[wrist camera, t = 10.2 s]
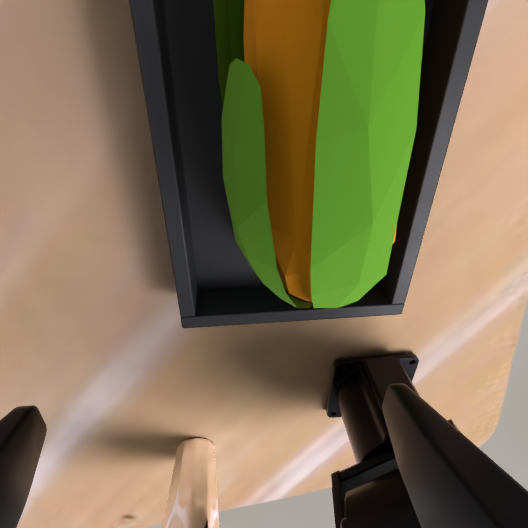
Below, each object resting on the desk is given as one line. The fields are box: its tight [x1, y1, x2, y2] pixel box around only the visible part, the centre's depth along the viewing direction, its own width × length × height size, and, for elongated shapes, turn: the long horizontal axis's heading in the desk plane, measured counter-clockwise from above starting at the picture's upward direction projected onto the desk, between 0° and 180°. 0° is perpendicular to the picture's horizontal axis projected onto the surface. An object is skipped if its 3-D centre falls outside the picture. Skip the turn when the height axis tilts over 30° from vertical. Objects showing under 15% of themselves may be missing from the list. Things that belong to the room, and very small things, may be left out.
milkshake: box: [162, 438, 220, 528], centre depth 26 cm, size 4×5×10 cm
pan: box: [129, 0, 488, 328], centre depth 14 cm, size 25×13×3 cm, turn 0°
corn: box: [213, 0, 425, 308], centre depth 12 cm, size 7×8×20 cm
